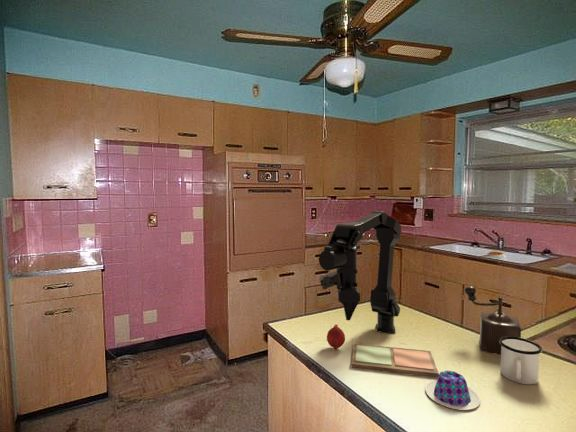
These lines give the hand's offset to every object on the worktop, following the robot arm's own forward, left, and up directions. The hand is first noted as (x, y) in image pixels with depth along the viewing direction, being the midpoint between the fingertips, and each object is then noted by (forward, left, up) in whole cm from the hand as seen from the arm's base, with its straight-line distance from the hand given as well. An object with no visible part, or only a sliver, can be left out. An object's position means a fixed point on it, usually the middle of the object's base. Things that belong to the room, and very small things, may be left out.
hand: (347, 314), depth 102 cm
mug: (+5, +45, -12) cm, 47 cm away
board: (+3, +13, -12) cm, 18 cm away
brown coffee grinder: (-14, +44, -12) cm, 48 cm away
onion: (-1, -4, -12) cm, 13 cm away
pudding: (+16, +26, -13) cm, 34 cm away
